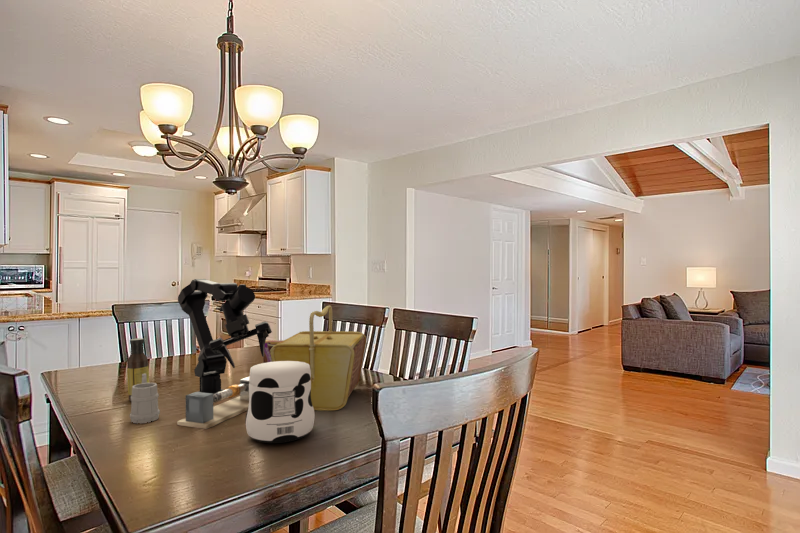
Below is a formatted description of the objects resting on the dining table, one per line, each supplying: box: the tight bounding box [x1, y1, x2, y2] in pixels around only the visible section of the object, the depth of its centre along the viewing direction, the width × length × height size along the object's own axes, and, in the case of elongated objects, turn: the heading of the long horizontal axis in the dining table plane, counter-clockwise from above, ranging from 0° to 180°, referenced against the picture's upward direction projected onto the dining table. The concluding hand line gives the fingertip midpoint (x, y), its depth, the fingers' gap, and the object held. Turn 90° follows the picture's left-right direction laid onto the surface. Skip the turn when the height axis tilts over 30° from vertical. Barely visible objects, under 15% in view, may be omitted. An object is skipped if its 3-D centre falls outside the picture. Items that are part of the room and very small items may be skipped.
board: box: [176, 395, 249, 430], centre depth 146 cm, size 33×10×1 cm, turn 161°
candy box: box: [262, 339, 285, 363], centre depth 182 cm, size 9×4×15 cm, turn 89°
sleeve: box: [239, 376, 249, 401], centre depth 157 cm, size 9×4×6 cm, turn 161°
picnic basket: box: [270, 304, 367, 412], centre depth 157 cm, size 29×26×30 cm
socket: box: [185, 391, 214, 423], centre depth 133 cm, size 4×6×7 cm, turn 71°
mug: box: [129, 374, 161, 424], centre depth 139 cm, size 8×12×12 cm, turn 30°
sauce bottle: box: [126, 337, 150, 402], centre depth 158 cm, size 6×6×20 cm
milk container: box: [244, 361, 315, 444], centre depth 123 cm, size 17×17×18 cm
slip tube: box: [213, 382, 249, 403], centre depth 149 cm, size 22×3×3 cm, turn 161°
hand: (248, 362), depth 149 cm, fingers open, 9 cm apart
